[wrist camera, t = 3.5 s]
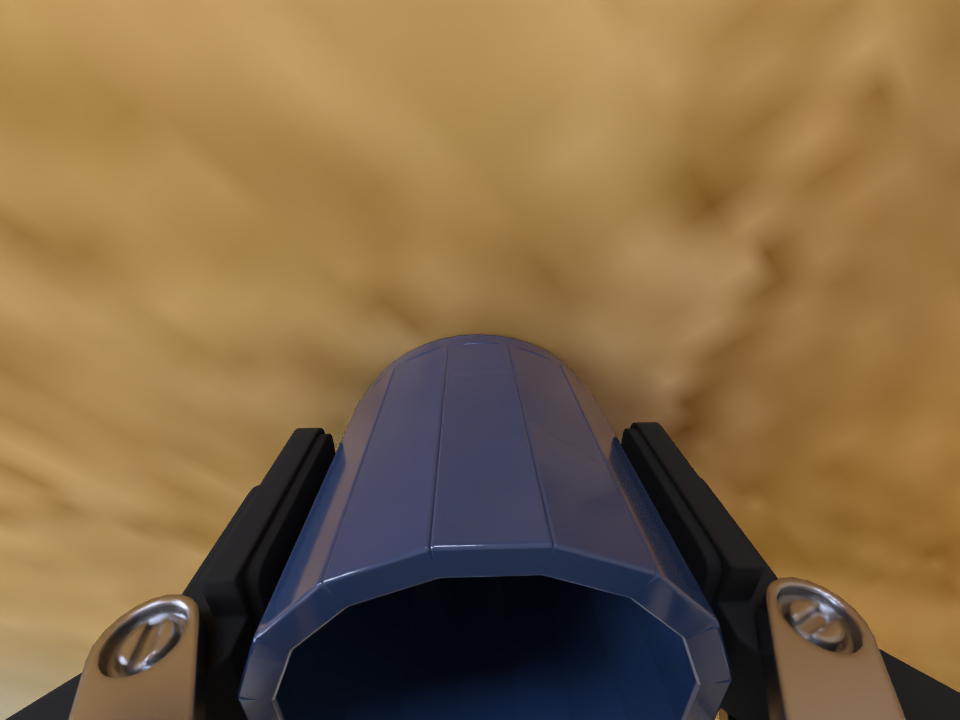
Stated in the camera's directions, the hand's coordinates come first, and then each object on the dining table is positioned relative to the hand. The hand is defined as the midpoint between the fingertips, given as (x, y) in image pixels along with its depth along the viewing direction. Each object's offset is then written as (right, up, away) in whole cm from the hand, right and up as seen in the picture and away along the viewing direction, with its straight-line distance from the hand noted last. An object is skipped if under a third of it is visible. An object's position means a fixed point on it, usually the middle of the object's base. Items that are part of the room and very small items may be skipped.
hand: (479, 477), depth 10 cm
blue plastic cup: (0, +1, +1) cm, 1 cm away
